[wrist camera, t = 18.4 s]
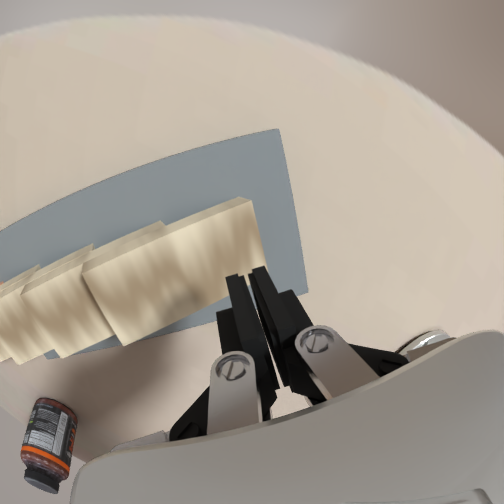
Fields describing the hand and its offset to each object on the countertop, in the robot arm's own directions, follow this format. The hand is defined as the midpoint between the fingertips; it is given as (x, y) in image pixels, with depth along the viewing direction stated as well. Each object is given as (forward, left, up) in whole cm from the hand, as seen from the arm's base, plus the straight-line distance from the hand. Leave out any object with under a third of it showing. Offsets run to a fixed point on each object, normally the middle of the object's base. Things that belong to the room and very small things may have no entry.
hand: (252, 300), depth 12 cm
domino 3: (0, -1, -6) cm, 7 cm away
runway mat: (0, +7, -8) cm, 11 cm away
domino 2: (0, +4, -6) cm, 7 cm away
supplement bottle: (-15, +26, -8) cm, 32 cm away
